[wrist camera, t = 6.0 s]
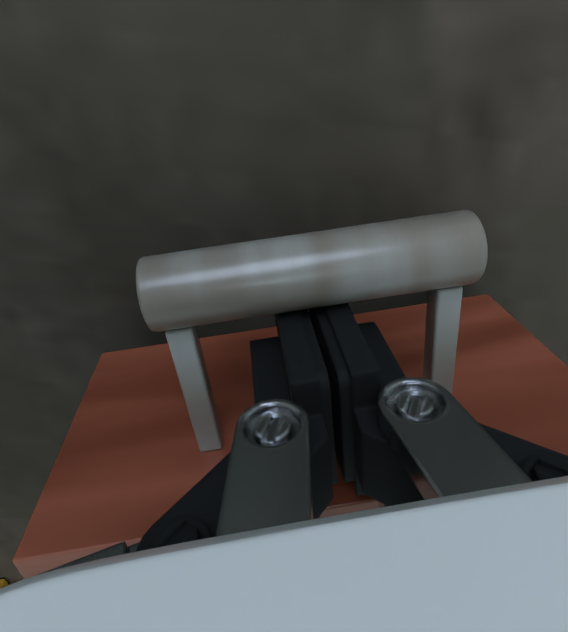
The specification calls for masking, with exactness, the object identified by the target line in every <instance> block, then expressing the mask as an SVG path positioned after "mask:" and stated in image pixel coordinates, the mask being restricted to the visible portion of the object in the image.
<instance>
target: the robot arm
mask: <svg viewBox="0 0 568 632" xmlns="http://www.w3.org/2000/svg"><path fill="white" fill-rule="evenodd" d="M275 318H276V325H277V332H278V336H276V337H270V338H264V339H257V340H251V341H250V353H251V365H252V377H253V390H254V402H255V404H253V405H252V406H250V407H249V408H247V409H246V410H245V411H244V412H243V413H242V414H241V415H240V417H239V418H238V420H237V423H236V426H235V431H234V436H233V442H232V447H231V452H230V453H229V454H228V455H226V456H225V457H224V458H223V459H222V460H221V461H220V462H219V463H218V464H217V465H216V466H215V467H214V468H213V469H212V470H210V471H209V472H208V473H207V474H206V475H205V476H204V477H203V478H202V479H201V480H200V481H199V482H198V483H197V484H196V485H194V486H193V487H192V488H191V489H190V490H189V491H188V492H187V493H186V494H185V495H184V496H183V497H182V498H181V499H180V500H179V501H177V502H176V503H175V504H174V505H173V506H172V507H171V508H170V509H169V510H168V511H167V512H166V513H165V514H164V515H163V516H161V517H160V518H159V519H158V520H157V521H156V522H155V523H154V524H153V525H152V526H151V527H150V528H149V529H148V531H147V532H146V533H145V534H144V535H143V537H142V539H141V541H140V542H138V543H136V544H133V545H130V546H127V544H126V542H125V541H123V542H121V543H118V544H115V545H113V546H110V547H108V548H105V549H102V550H100V551H97V552H95V553H92V554H89V555H87V556H84V557H82V558H79V559H76V560H74V561H71V562H69V563H66V564H63V565H61V566H58V567H56V568H53V569H50V570H48V571H45V572H43V573H40V574H37V575H35V576H32V577H30V578H26V579H23V580H20V581H18V582H15V583H13V584H10V585H8V586H5V587H3V588H0V632H568V456H566V455H564V454H561V453H559V452H556V451H553V450H551V449H548V448H545V447H543V446H540V445H537V444H535V443H532V442H529V441H526V440H524V439H521V438H518V437H516V436H513V435H510V434H508V433H505V432H502V431H500V430H497V429H494V428H491V427H489V426H486V425H483V424H481V423H478V422H477V421H476V420H475V419H474V418H473V417H472V416H471V415H470V414H469V413H468V412H467V410H466V409H465V408H464V407H463V406H462V405H461V404H460V403H459V402H458V401H457V400H456V399H455V398H454V396H453V395H452V394H451V393H450V392H449V391H448V390H447V389H445V388H444V387H443V386H442V385H440V384H438V383H436V382H434V381H431V380H428V379H424V378H419V377H406V376H405V375H404V373H403V371H402V369H401V367H400V366H399V364H398V362H397V360H396V359H395V357H394V355H393V353H392V351H391V350H390V348H389V346H388V344H387V343H386V341H385V339H384V337H383V336H382V334H381V332H380V330H379V328H378V327H377V325H376V324H375V322H366V323H360V324H357V322H356V320H355V318H354V316H353V314H352V312H351V310H350V308H349V306H348V304H347V303H344V304H337V305H331V306H324V307H317V308H311V309H309V313H308V310H307V309H304V310H298V311H291V312H285V313H278V314H275ZM335 451H336V454H335ZM336 455H337V458H338V462H339V465H340V469H341V473H342V476H343V480H344V482H350V481H353V484H354V487H355V491H356V494H357V496H359V495H365V494H366V495H368V496H370V497H372V498H374V499H375V500H377V501H379V508H375V509H369V510H363V511H358V512H352V513H346V514H340V515H335V516H329V517H323V518H320V515H321V514H322V513H323V511H324V510H325V509H326V507H327V506H328V505H329V503H330V502H331V501H332V499H333V498H334V496H333V484H337V483H338V482H337V468H336Z"/></svg>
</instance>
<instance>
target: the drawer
mask: <svg viewBox="0 0 568 632" xmlns="http://www.w3.org/2000/svg"><path fill="white" fill-rule="evenodd" d="M487 254H488V250H487V240H486V235H485V231H484V228H483V225H482V223H481V221H480V219H479V218H478V217H477V215H476V214H475V213H473V212H471V211H469V210H458V211H452V212H445V213H438V214H431V215H424V216H417V217H411V218H404V219H397V220H390V221H383V222H376V223H369V224H363V225H356V226H349V227H342V228H335V229H328V230H322V231H315V232H308V233H301V234H294V235H287V236H281V237H274V238H267V239H260V240H253V241H246V242H240V243H233V244H226V245H219V246H212V247H205V248H198V249H192V250H185V251H178V252H171V253H164V254H157V255H151V256H144V257H142V258H140V259H139V260H138V262H137V266H136V290H137V297H138V302H139V306H140V309H141V313H142V315H143V318H144V320H145V322H146V324H147V326H148V327H149V329H150V330H152V331H154V332H160V331H166V333H165V335H166V338H167V342H168V343H165V344H158V345H152V346H145V347H139V348H132V349H126V350H119V351H113V352H106V353H102V354H101V357H100V359H99V361H98V363H97V366H96V368H95V370H94V373H93V375H92V377H91V380H90V382H89V384H88V387H87V389H86V391H85V394H84V396H83V398H82V400H81V403H80V405H79V407H78V410H77V412H76V414H75V417H74V419H73V421H72V424H71V426H70V428H69V431H68V433H67V435H66V438H65V440H64V442H63V444H62V447H61V449H60V451H59V454H58V456H57V458H56V461H55V463H54V465H53V468H52V470H51V472H50V475H49V477H48V479H47V481H46V484H45V486H44V488H43V491H42V493H41V495H40V498H39V500H38V502H37V505H36V507H35V509H34V512H33V514H32V516H31V518H30V521H29V523H28V525H27V528H26V530H25V532H24V535H23V537H22V539H21V542H20V544H19V546H18V549H17V551H16V553H15V555H14V558H13V564H14V565H15V566H16V568H17V569H18V571H19V572H20V573H21V575H22V576H23V577H24V579H26V578H30V577H32V576H35V575H37V574H40V573H43V572H45V571H48V570H50V569H53V568H56V567H58V566H61V565H63V564H66V563H69V562H71V561H74V560H76V559H79V558H82V557H84V556H87V555H89V554H92V553H95V552H97V551H100V550H102V549H105V548H108V547H110V546H113V545H115V544H118V543H121V542H123V541H125V542H126V544H127V546H130V545H133V544H136V543H138V542H140V541H141V539H142V537H143V535H144V534H145V533H146V532H147V531H148V529H149V528H150V527H151V526H152V525H153V524H154V523H155V522H156V521H157V520H158V519H159V518H160V517H161V516H163V515H164V514H165V513H166V512H167V511H168V510H169V509H170V508H171V507H172V506H173V505H174V504H175V503H176V502H177V501H179V500H180V499H181V498H182V497H183V496H184V495H185V494H186V493H187V492H188V491H189V490H190V489H191V488H192V487H193V486H194V485H196V484H197V483H198V482H199V481H200V480H201V479H202V478H203V477H204V476H205V475H206V474H207V473H208V472H209V471H210V470H212V469H213V468H214V467H215V466H216V465H217V464H218V463H219V462H220V461H221V460H222V459H223V458H224V457H225V456H226V455H228V454H229V453H230V452H231V447H232V442H233V436H234V431H235V426H236V423H237V420H238V418H239V417H240V415H241V414H242V413H243V412H244V411H245V410H246V409H247V408H249V407H250V406H252V405H253V404H255V402H254V390H253V377H252V365H251V353H250V341H251V340H257V339H264V338H270V337H276V336H278V332H277V326H276V327H269V328H263V329H256V330H250V331H243V332H237V333H230V334H224V335H217V336H211V337H204V338H199V336H198V332H197V328H196V326H200V325H206V324H213V323H219V322H226V321H232V320H239V319H245V318H252V317H258V316H265V315H272V314H278V313H285V312H291V311H298V310H304V309H311V308H317V307H324V306H331V305H337V304H344V303H350V302H357V301H363V300H370V299H376V298H383V297H390V296H396V295H403V294H409V293H416V292H422V291H428V292H427V303H425V304H419V305H412V306H406V307H399V308H393V309H386V310H380V311H373V312H367V313H360V314H354V315H353V316H354V318H355V320H356V322H357V324H360V323H366V322H375V324H376V325H377V327H378V328H379V330H380V332H381V334H382V336H383V337H384V339H385V341H386V343H387V344H388V346H389V348H390V350H391V351H392V353H393V355H394V357H395V359H396V360H397V362H398V364H399V366H400V367H401V369H402V371H403V373H404V375H405V376H406V377H419V378H424V379H428V380H431V381H434V382H436V383H438V384H440V385H442V386H443V387H444V388H445V389H447V390H448V391H449V392H450V393H451V394H452V395H453V396H454V398H455V399H456V400H457V401H458V402H459V403H460V404H461V405H462V406H463V407H464V408H465V409H466V410H467V412H468V413H469V414H470V415H471V416H472V417H473V418H474V419H475V420H476V421H477V422H478V423H481V424H483V425H486V426H489V427H491V428H494V429H497V430H500V431H502V432H505V433H508V434H510V435H513V436H516V437H518V438H521V439H524V440H526V441H529V442H532V443H535V444H537V445H540V446H543V447H545V448H548V449H551V450H553V451H556V452H559V453H561V454H564V455H566V456H568V366H566V365H565V364H564V363H563V362H562V361H561V360H560V359H559V358H558V357H557V356H555V355H554V354H553V353H552V352H551V351H550V350H549V349H548V348H547V347H545V346H544V345H543V344H542V343H541V342H540V341H539V340H538V339H537V338H535V337H534V336H533V335H532V334H531V333H530V332H529V331H528V330H527V329H525V328H524V327H523V326H522V325H521V324H520V323H519V322H518V321H517V320H515V319H514V318H513V317H512V316H511V315H510V314H509V313H508V312H507V311H505V310H504V309H503V308H502V307H501V306H500V305H499V304H498V303H497V302H496V301H494V300H493V299H492V298H491V297H490V296H489V295H488V294H484V295H477V296H471V297H464V298H462V291H463V288H462V285H468V284H473V283H475V282H477V281H478V280H479V279H480V278H481V277H482V276H483V274H484V271H485V268H486V264H487ZM335 454H336V451H335ZM336 468H337V482H338V483H337V484H333V496H334V498H333V499H332V501H331V502H330V503H329V505H328V506H327V507H326V509H325V510H324V511H323V513H322V514H321V515H320V518H323V517H329V516H335V515H340V514H346V513H352V512H358V511H363V510H369V509H375V508H379V501H377V500H375V499H374V498H372V497H370V496H368V495H366V494H365V495H359V496H357V494H356V491H355V487H354V484H353V481H350V482H344V480H343V476H342V473H341V469H340V465H339V462H338V458H337V455H336Z"/></svg>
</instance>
